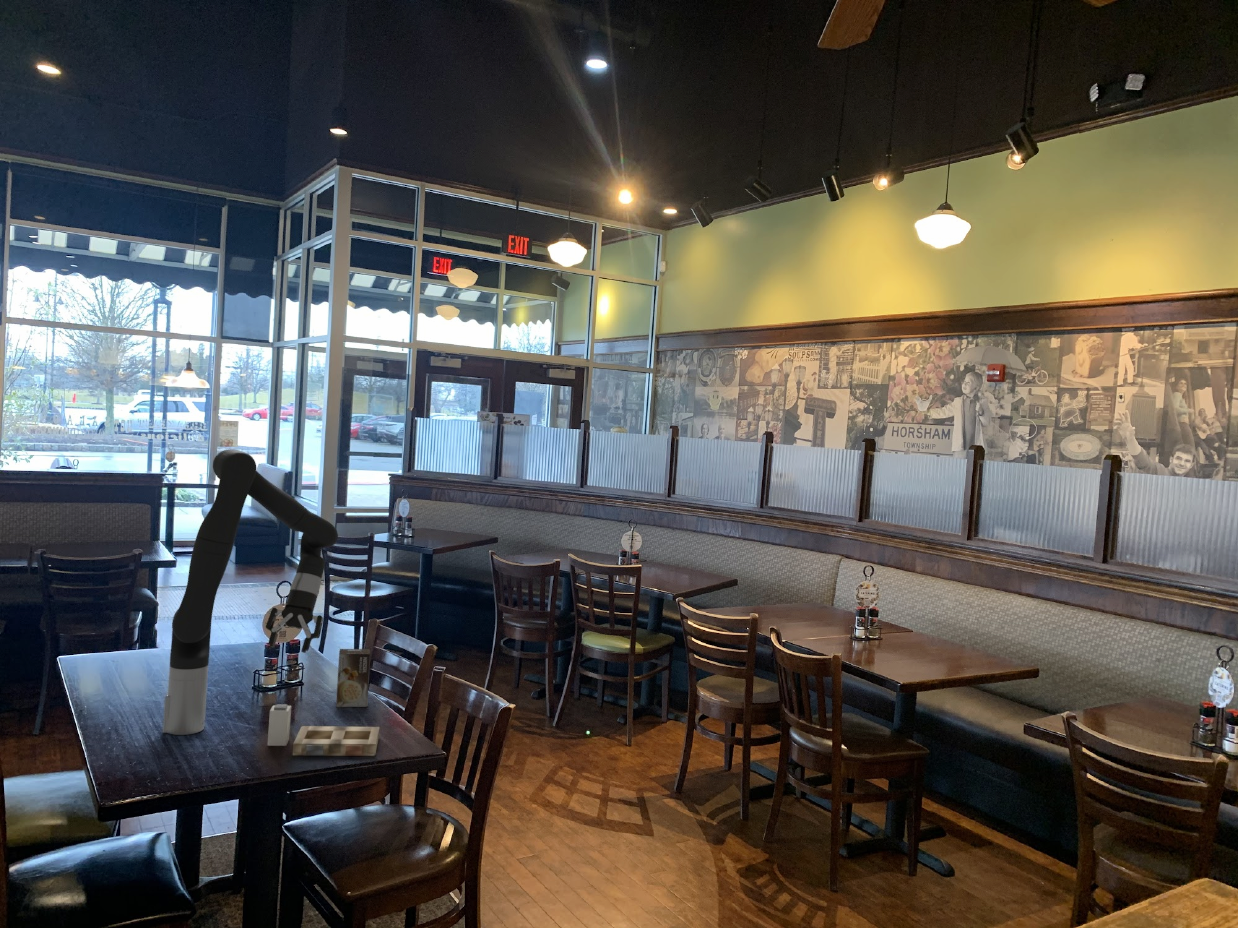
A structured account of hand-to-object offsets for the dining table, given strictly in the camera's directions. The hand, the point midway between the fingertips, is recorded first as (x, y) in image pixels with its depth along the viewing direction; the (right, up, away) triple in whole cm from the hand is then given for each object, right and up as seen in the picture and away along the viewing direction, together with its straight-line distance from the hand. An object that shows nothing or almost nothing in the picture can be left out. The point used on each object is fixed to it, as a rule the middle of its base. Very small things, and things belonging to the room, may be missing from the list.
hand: (287, 649), depth 237 cm
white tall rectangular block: (+2, -22, -11) cm, 24 cm away
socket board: (+17, -23, -11) cm, 30 cm away
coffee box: (+10, -22, +24) cm, 34 cm away
